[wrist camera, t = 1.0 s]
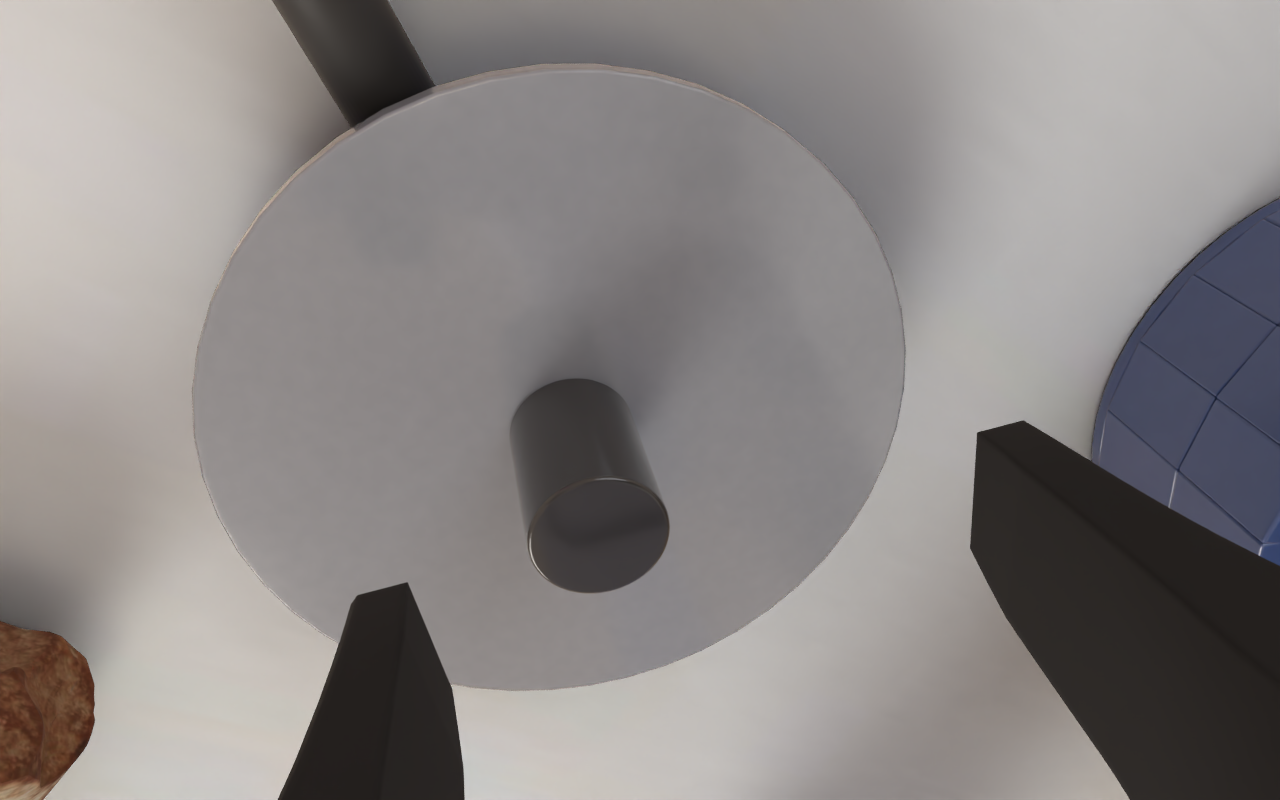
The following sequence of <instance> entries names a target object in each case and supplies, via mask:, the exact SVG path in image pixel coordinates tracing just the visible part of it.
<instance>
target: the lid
mask: <svg viewBox="0 0 1280 800" xmlns="http://www.w3.org/2000/svg"><path fill="white" fill-rule="evenodd" d="M904 373H905V339H904V329H903V319H902V310H901V306H900V302H899V298H898V294H897V290H896V286H895V282H894V278H893V274H892V271H891V268H890V266H889V264H888V261H887V259H886V257H885V254H884V252H883V250H882V247H881V245H880V243H879V240H878V238H877V236H876V233H875V232H874V230H873V229H872V227H871V225H870V224H869V222H868V220H867V219H866V217H865V216H864V214H863V212H862V211H861V209H860V208H859V206H858V204H857V203H856V201H855V200H854V198H853V197H852V196H851V194H850V193H849V192H848V191H847V190H846V189H845V187H844V186H843V185H842V184H841V183H840V182H839V181H838V179H837V178H836V177H835V176H834V175H833V174H832V172H831V171H830V170H829V169H828V168H827V167H826V165H825V164H824V163H822V162H821V161H820V160H819V159H818V158H817V157H816V156H814V155H813V154H812V153H811V152H810V151H809V150H807V149H806V148H805V147H804V146H803V145H802V144H800V143H799V142H798V141H797V140H796V139H794V138H793V137H792V136H791V135H790V134H789V133H787V132H786V131H785V130H784V129H783V128H781V127H780V126H778V125H776V124H775V123H773V122H771V121H770V120H768V119H767V118H765V117H763V116H762V115H760V114H759V113H757V112H755V111H754V110H752V109H751V108H749V107H747V106H746V105H744V104H743V103H740V102H738V101H736V100H733V99H731V98H729V97H726V96H724V95H722V94H720V93H717V92H715V91H713V90H710V89H708V88H706V87H704V86H701V85H699V84H696V83H692V82H689V81H685V80H682V79H678V78H674V77H671V76H667V75H663V74H660V73H656V72H653V71H649V70H642V69H634V68H627V67H619V66H612V65H604V64H596V63H589V64H537V65H530V66H523V67H516V68H509V69H502V70H495V71H488V72H484V73H480V74H477V75H473V76H470V77H466V78H463V79H459V80H456V81H452V82H449V83H445V84H442V85H438V86H434V87H432V88H430V89H427V90H425V91H423V92H421V93H418V94H416V95H414V96H411V97H409V98H407V99H405V100H402V101H400V102H398V103H395V104H393V105H391V106H388V107H386V108H384V109H382V110H381V111H379V112H377V113H376V114H374V115H372V116H371V117H369V118H367V119H366V120H364V121H363V122H361V123H359V124H358V125H356V126H354V127H353V128H351V129H349V130H348V131H346V132H344V133H343V134H341V135H340V136H338V137H337V138H335V139H334V140H333V141H332V142H330V143H329V144H328V145H327V146H326V147H324V148H323V149H322V150H321V151H320V152H318V153H317V154H316V155H315V156H313V157H312V158H311V159H310V160H309V161H307V162H306V163H305V164H304V165H302V166H301V167H300V168H299V169H298V170H296V171H295V173H294V174H293V175H292V176H291V177H290V178H289V179H288V180H287V181H286V182H285V184H284V185H283V186H282V187H281V188H280V189H279V190H278V191H277V192H276V193H275V195H274V196H273V197H272V198H271V199H270V200H269V201H268V202H267V203H266V204H265V205H264V207H263V208H262V209H261V210H260V212H259V213H258V215H257V216H256V218H255V219H254V221H253V222H252V224H251V225H250V227H249V228H248V230H247V231H246V233H245V234H244V236H243V237H242V239H241V240H240V242H239V243H238V245H237V246H236V248H235V249H234V251H233V253H232V255H231V257H230V259H229V262H228V264H227V266H226V268H225V270H224V272H223V274H222V277H221V279H220V281H219V283H218V285H217V287H216V289H215V292H214V294H213V296H212V299H211V302H210V305H209V308H208V312H207V315H206V319H205V322H204V326H203V329H202V333H201V336H200V340H199V343H198V347H197V354H196V362H195V371H194V379H193V388H192V404H193V427H194V438H195V443H196V448H197V453H198V458H199V462H200V467H201V472H202V477H203V479H204V482H205V485H206V487H207V490H208V493H209V495H210V498H211V500H212V503H213V506H214V508H215V511H216V513H217V516H218V518H219V519H220V521H221V523H222V525H223V527H224V528H225V530H226V532H227V534H228V535H229V537H230V539H231V541H232V542H233V544H234V546H235V548H236V549H237V551H238V553H239V554H240V555H241V556H242V558H243V559H244V560H245V562H246V563H247V564H248V565H249V567H250V568H251V569H252V570H253V572H254V573H255V574H256V576H257V577H258V578H259V579H260V581H261V582H262V583H263V584H264V585H265V586H266V587H267V588H268V589H269V590H270V591H271V592H272V593H273V594H274V595H275V596H276V597H277V598H278V599H279V600H280V601H281V602H282V603H283V604H284V605H286V606H287V607H288V608H289V609H290V610H291V611H292V612H293V613H294V614H296V615H297V616H299V617H300V618H301V619H303V620H304V621H305V622H307V623H308V624H309V625H311V626H312V627H313V628H315V629H316V630H318V631H319V632H320V633H322V634H323V635H325V636H326V637H328V638H330V639H332V640H333V641H335V642H337V643H339V642H340V638H341V635H342V632H343V629H344V626H345V622H346V619H347V616H348V612H349V609H350V605H351V603H352V602H353V600H354V599H355V598H356V596H357V595H360V594H364V593H368V592H371V591H375V590H379V589H383V588H387V587H390V586H394V585H398V584H402V583H406V582H408V584H409V587H410V589H411V591H412V594H413V596H414V599H415V601H416V603H417V606H418V608H419V611H420V613H421V615H422V618H423V620H424V623H425V625H426V627H427V630H428V632H429V635H430V637H431V639H432V642H433V644H434V647H435V649H436V651H437V654H438V656H439V659H440V661H441V663H442V666H443V668H444V671H445V673H446V676H447V678H448V680H449V683H450V684H453V685H459V686H465V687H470V688H481V689H494V690H507V691H529V690H555V689H564V688H573V687H581V686H590V685H595V684H599V683H604V682H608V681H613V680H618V679H622V678H627V677H631V676H634V675H637V674H640V673H644V672H647V671H650V670H653V669H656V668H659V667H663V666H666V665H668V664H671V663H673V662H675V661H678V660H680V659H682V658H685V657H687V656H690V655H692V654H694V653H697V652H699V651H701V650H703V649H705V648H707V647H709V646H711V645H713V644H715V643H717V642H718V641H720V640H722V639H724V638H726V637H728V636H730V635H731V634H733V633H735V632H737V631H738V630H740V629H741V628H743V627H744V626H746V625H747V624H749V623H750V622H752V621H753V620H755V619H756V618H758V617H759V616H761V615H762V614H764V613H765V612H767V611H768V610H769V609H771V608H772V607H773V606H774V605H776V604H777V603H778V602H779V601H780V600H782V599H783V598H784V597H785V596H786V595H788V594H789V593H790V592H791V591H793V590H794V589H795V588H796V587H797V586H799V584H800V583H801V582H802V581H803V580H804V579H805V578H806V577H807V576H808V575H809V574H810V573H811V572H812V571H813V570H814V569H815V568H816V567H817V566H818V565H819V564H820V563H821V562H822V561H823V560H824V559H825V558H826V557H827V556H828V554H829V553H830V552H831V550H832V549H833V548H834V547H835V545H836V544H837V543H838V542H839V540H840V539H841V538H842V537H843V535H844V534H845V533H846V532H847V530H848V529H849V528H850V526H851V524H852V523H853V521H854V520H855V518H856V516H857V515H858V513H859V512H860V510H861V508H862V507H863V505H864V504H865V502H866V500H867V499H868V497H869V495H870V493H871V491H872V489H873V487H874V485H875V482H876V480H877V478H878V476H879V474H880V472H881V470H882V468H883V465H884V463H885V461H886V458H887V455H888V452H889V449H890V446H891V442H892V439H893V436H894V433H895V430H896V427H897V422H898V417H899V412H900V406H901V401H902V395H903V390H904Z"/></svg>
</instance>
